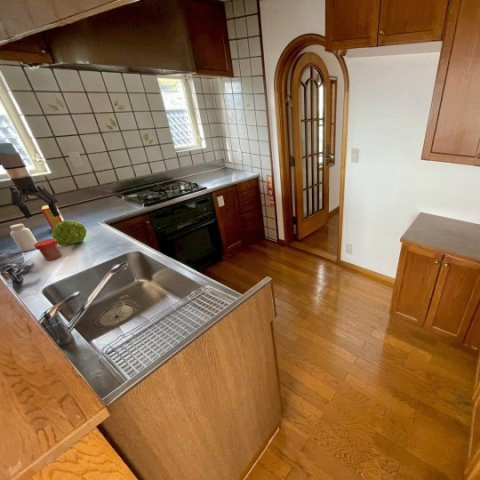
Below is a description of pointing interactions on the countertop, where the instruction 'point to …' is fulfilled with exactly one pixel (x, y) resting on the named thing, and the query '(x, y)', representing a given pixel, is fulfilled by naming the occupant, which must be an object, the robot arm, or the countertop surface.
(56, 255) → the jar
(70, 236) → the lettuce
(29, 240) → the pill bottle
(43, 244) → the cap
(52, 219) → the baking soda box
